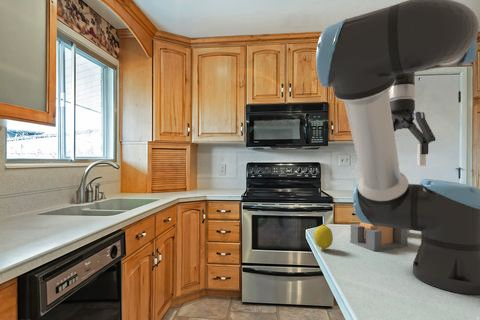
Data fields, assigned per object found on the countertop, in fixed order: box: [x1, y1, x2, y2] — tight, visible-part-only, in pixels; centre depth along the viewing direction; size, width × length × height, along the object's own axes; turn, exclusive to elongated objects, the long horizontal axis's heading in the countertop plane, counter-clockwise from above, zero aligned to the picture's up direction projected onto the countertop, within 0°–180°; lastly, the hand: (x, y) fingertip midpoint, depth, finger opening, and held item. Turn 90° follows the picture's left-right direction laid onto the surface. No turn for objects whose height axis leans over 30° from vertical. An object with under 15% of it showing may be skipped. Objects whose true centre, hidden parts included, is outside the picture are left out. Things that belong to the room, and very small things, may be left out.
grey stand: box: [349, 223, 409, 252], centre depth 93 cm, size 10×15×6 cm, turn 112°
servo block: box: [359, 222, 393, 244], centre depth 93 cm, size 5×12×10 cm, turn 111°
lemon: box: [313, 224, 334, 251], centre depth 87 cm, size 6×6×8 cm
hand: (401, 165), depth 90 cm, fingers open, 13 cm apart
